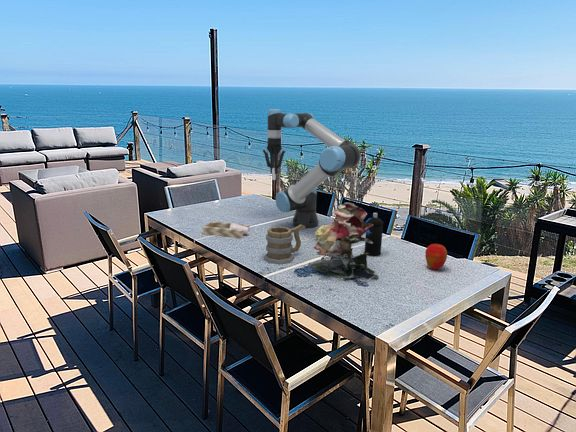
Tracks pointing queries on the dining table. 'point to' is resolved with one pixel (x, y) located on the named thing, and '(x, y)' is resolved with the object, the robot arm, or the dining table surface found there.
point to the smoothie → (240, 228)
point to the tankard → (282, 244)
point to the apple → (435, 256)
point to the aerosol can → (374, 236)
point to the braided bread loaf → (222, 230)
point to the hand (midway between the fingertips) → (273, 179)
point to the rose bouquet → (343, 243)
